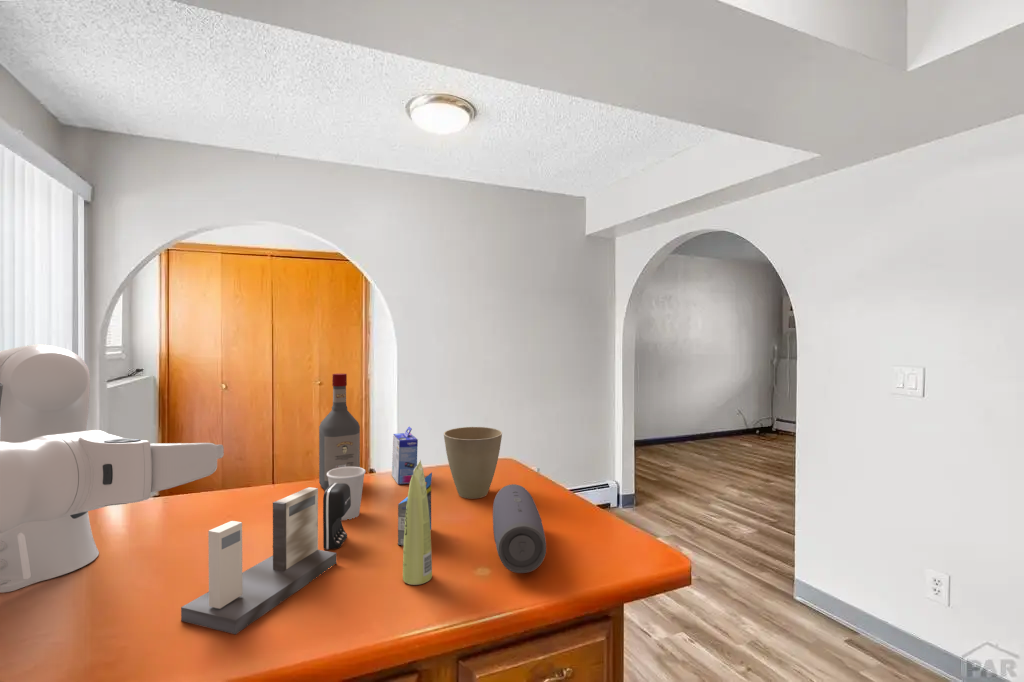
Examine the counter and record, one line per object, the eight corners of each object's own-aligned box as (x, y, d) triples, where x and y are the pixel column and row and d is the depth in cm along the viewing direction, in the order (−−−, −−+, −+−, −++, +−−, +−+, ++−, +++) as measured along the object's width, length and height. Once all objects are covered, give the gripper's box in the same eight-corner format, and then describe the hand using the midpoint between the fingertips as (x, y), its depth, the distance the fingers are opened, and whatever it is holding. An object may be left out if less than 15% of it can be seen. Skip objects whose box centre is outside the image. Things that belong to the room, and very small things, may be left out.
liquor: (362, 487, 134) (362, 374, 133) (326, 493, 128) (326, 376, 128) (351, 478, 141) (351, 372, 140) (317, 484, 136) (317, 373, 135)
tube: (394, 576, 86) (395, 463, 86) (420, 567, 90) (420, 458, 89) (412, 589, 82) (413, 470, 82) (438, 579, 86) (439, 465, 85)
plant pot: (444, 485, 136) (444, 427, 135) (499, 484, 137) (499, 426, 137) (442, 505, 121) (442, 439, 121) (504, 503, 123) (504, 438, 122)
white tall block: (219, 608, 72) (219, 532, 72) (208, 606, 73) (208, 530, 72) (242, 594, 76) (242, 522, 76) (231, 592, 77) (231, 520, 76)
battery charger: (342, 551, 96) (342, 491, 96) (322, 551, 96) (322, 491, 96) (352, 535, 103) (352, 480, 103) (333, 536, 103) (333, 480, 102)
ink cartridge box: (418, 483, 138) (418, 430, 137) (398, 485, 136) (398, 432, 135) (410, 473, 147) (410, 424, 146) (391, 475, 145) (391, 425, 144)
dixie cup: (370, 517, 113) (370, 473, 113) (332, 525, 108) (332, 479, 108) (358, 506, 120) (358, 464, 120) (322, 513, 115) (322, 469, 115)
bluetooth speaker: (549, 580, 86) (550, 522, 86) (495, 581, 85) (495, 523, 85) (534, 527, 109) (535, 481, 108) (491, 528, 108) (491, 481, 108)
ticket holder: (235, 634, 70) (234, 539, 70) (181, 620, 73) (180, 529, 73) (336, 563, 91) (336, 490, 90) (291, 555, 94) (290, 484, 94)
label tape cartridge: (414, 528, 107) (415, 470, 107) (432, 529, 107) (432, 471, 106) (397, 545, 99) (397, 483, 98) (415, 547, 98) (416, 484, 98)
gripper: (16, 497, 59) (136, 473, 72) (148, 503, 53) (252, 475, 66) (17, 443, 59) (136, 428, 72) (147, 442, 53) (251, 426, 66)
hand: (192, 450), depth 69 cm, fingers open, 8 cm apart
